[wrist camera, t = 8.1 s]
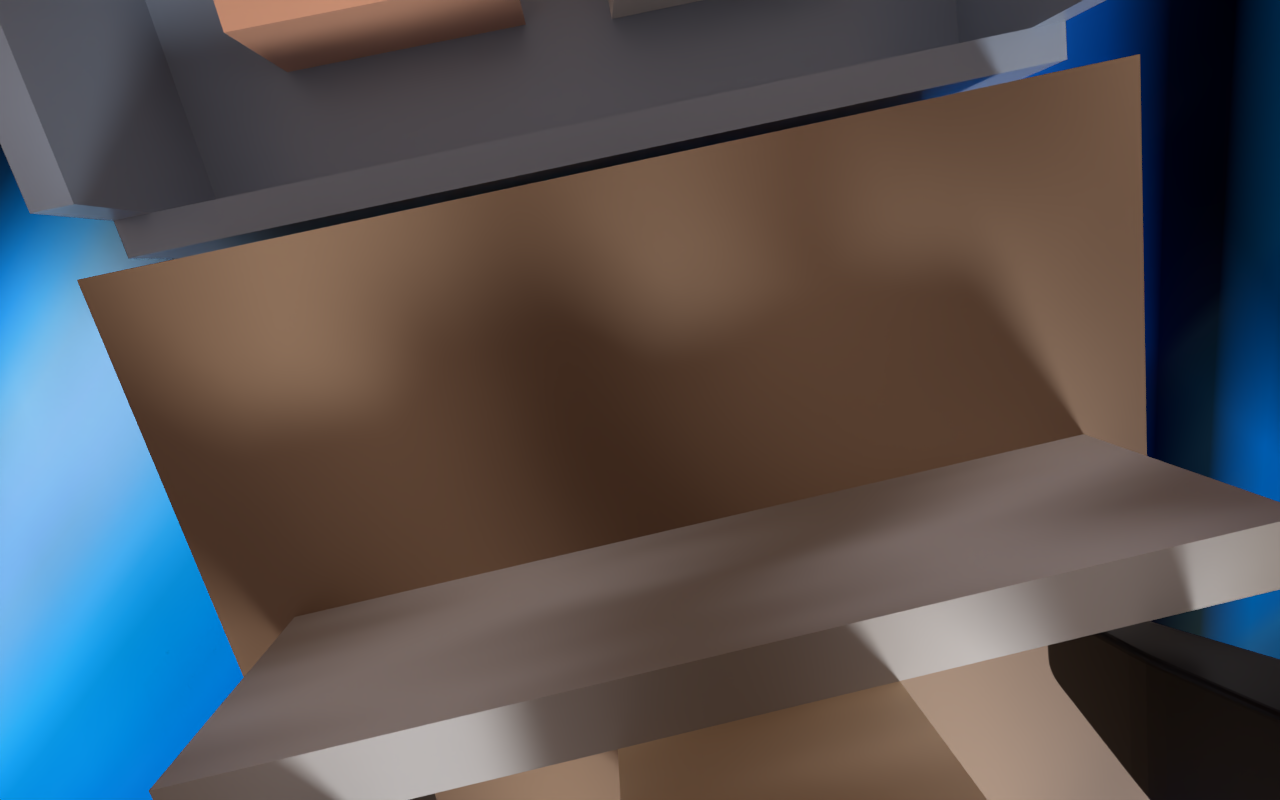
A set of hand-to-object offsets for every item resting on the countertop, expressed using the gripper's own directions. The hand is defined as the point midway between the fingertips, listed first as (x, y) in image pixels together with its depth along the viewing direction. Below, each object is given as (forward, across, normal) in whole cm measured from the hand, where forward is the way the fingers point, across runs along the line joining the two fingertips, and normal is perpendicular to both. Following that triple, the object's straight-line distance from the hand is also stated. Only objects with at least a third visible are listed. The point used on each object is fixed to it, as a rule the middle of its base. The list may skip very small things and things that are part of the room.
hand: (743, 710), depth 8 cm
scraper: (+2, 0, +1) cm, 2 cm away
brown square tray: (+7, 0, 0) cm, 7 cm away
